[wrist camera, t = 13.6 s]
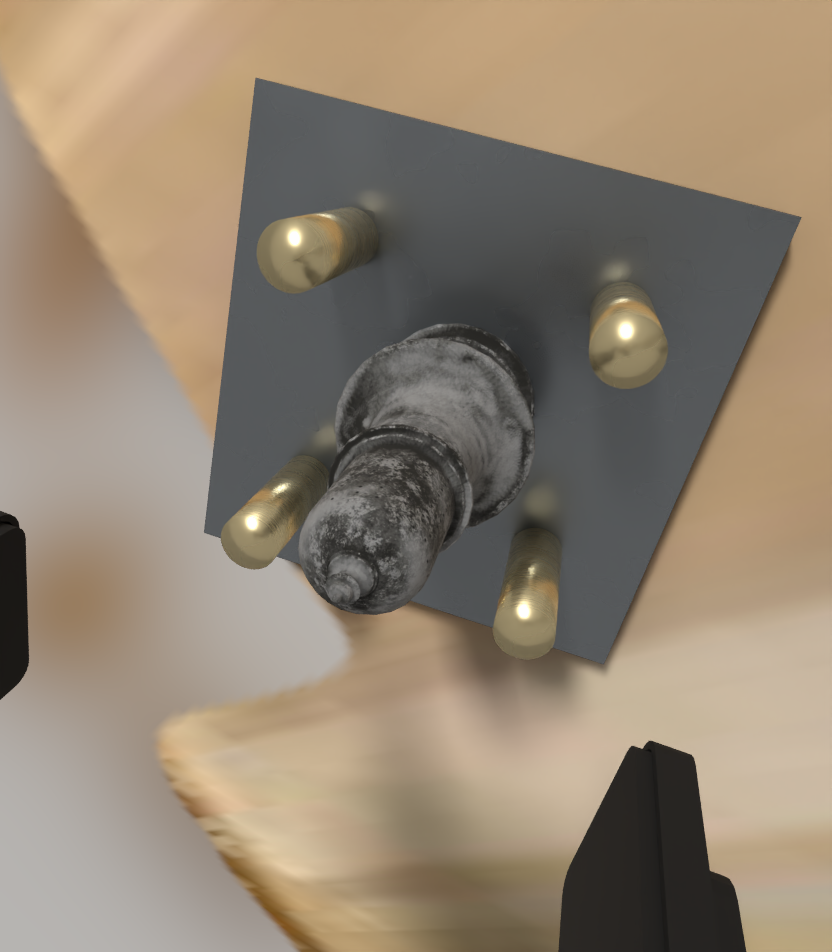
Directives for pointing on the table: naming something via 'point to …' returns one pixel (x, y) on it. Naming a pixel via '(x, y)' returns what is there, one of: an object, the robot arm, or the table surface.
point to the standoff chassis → (498, 312)
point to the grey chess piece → (417, 463)
